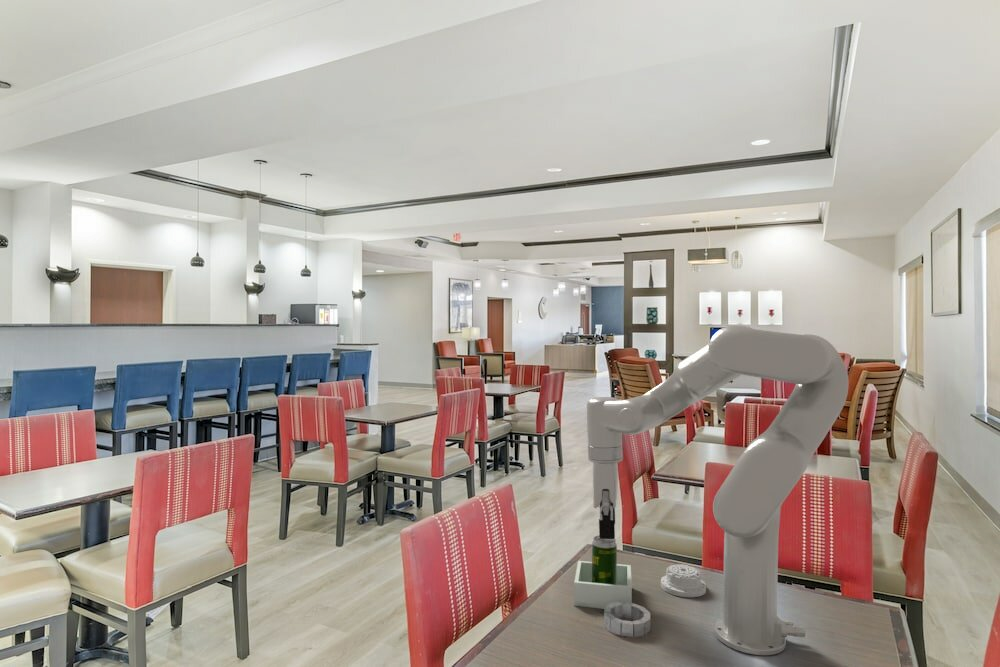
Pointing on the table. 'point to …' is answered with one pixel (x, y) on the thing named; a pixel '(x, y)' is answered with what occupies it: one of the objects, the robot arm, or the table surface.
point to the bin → (601, 587)
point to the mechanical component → (683, 581)
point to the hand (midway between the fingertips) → (607, 531)
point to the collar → (627, 627)
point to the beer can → (604, 561)
